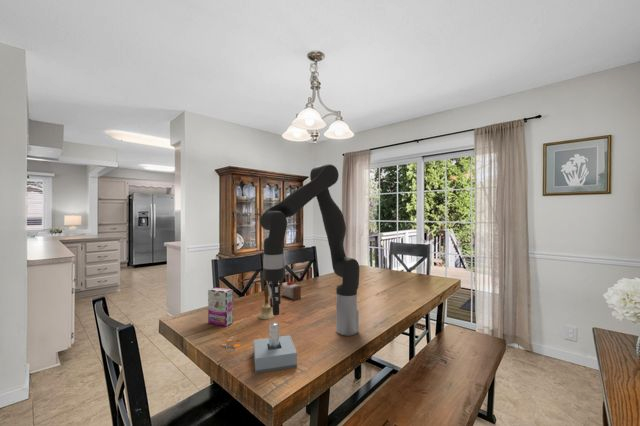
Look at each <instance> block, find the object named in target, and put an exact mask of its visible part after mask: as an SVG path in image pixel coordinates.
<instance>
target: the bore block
mask: <svg viewBox="0 0 640 426" xmlns="http://www.w3.org/2000/svg"><path fill="white" fill-rule="evenodd" d="M253 361H254V369H255V374H263V373H268V372H273V371H275V372H276V371H281V370H287V369H294V368H298V352H297V349H296V347H295V343H294V341H293V339H292V336H291V335H283V336H281V335H280V336H279V349H272V350H269V337H265V338H258V339H253Z"/></svg>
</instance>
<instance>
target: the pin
mask: <svg viewBox="0 0 640 426" xmlns="http://www.w3.org/2000/svg"><path fill="white" fill-rule="evenodd" d="M279 337H280V322H277V321H271V322H270V323H268V338H269V350H272V349H279Z"/></svg>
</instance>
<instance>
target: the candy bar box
mask: <svg viewBox="0 0 640 426" xmlns="http://www.w3.org/2000/svg"><path fill="white" fill-rule="evenodd" d="M233 296H234V291H233V289H231V288H223V287H213V288H209V289H208V291H207V297H208V299H207V301H208V303H207V304H208V305H207V307H208V308H207V309H208V315H207V316H208V318H207V319H208V321H207V322H208V324H210V325H216V326H222V327H228V326H230V325H232V324H233V322H234V312H233V311H234V308H233V307H234V302H233V301H234V298H233Z"/></svg>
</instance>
